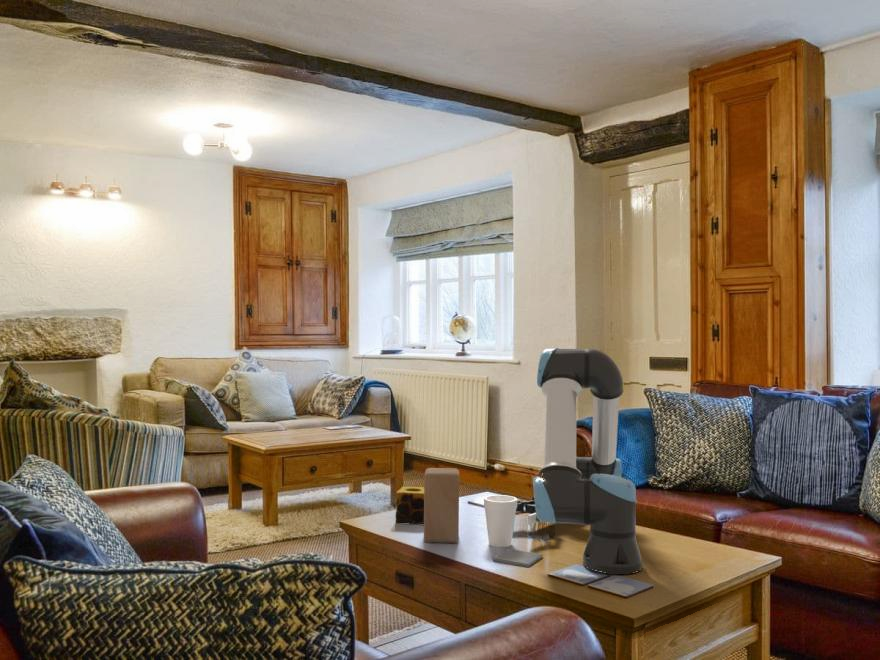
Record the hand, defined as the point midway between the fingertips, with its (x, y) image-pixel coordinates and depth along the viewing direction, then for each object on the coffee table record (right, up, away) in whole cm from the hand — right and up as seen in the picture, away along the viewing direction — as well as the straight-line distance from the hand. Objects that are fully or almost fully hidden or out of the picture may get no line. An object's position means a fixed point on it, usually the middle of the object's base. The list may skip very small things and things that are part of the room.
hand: (509, 516), depth 226 cm
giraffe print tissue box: (-29, -7, +21) cm, 36 cm away
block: (-20, -7, 0) cm, 21 cm away
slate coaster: (+1, -7, -19) cm, 20 cm away
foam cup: (-3, -7, -4) cm, 9 cm away
